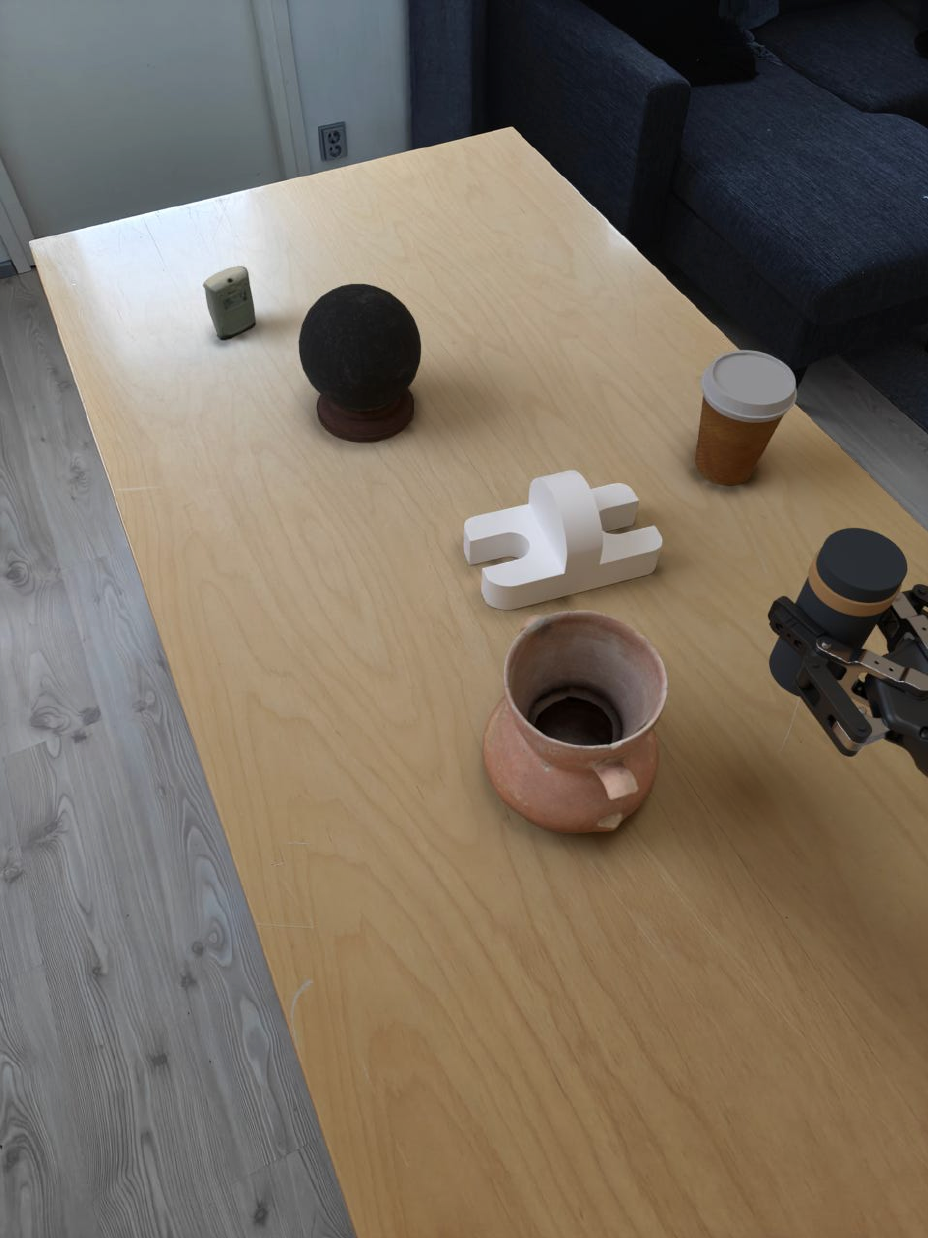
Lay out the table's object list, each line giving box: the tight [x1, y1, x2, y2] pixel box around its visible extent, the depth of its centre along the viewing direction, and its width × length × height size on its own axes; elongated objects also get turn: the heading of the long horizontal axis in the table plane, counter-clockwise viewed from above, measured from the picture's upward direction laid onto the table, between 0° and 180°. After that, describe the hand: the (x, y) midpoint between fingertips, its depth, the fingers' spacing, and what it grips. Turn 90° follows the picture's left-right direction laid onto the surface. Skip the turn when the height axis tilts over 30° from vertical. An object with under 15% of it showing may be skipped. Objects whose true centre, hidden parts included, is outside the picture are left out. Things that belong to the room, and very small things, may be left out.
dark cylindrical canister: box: [768, 527, 908, 698], centre depth 61 cm, size 5×5×12 cm
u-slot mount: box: [463, 469, 663, 611], centre depth 89 cm, size 18×10×10 cm, turn 109°
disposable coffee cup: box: [694, 349, 798, 486], centre depth 97 cm, size 10×10×12 cm
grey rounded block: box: [202, 265, 257, 341], centre depth 112 cm, size 6×5×8 cm
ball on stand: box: [298, 283, 422, 443], centre depth 101 cm, size 13×13×15 cm
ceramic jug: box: [482, 609, 669, 834], centre depth 74 cm, size 18×14×14 cm
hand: (804, 587), depth 61 cm, fingers closed on dark cylindrical canister, 5 cm apart
